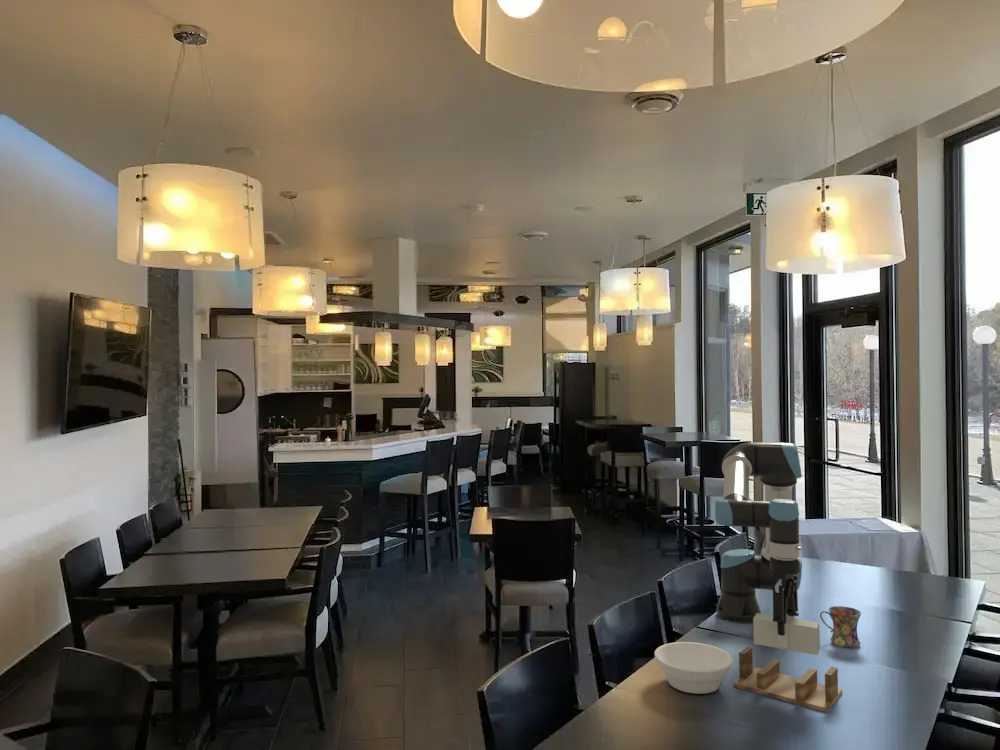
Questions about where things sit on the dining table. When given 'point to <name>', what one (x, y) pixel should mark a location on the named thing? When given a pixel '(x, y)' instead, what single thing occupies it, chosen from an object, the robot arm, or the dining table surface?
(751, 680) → the rack
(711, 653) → the bowl
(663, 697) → the dining table surface
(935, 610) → the dining table surface
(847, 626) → the mug
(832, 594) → the dining table surface
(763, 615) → the block
